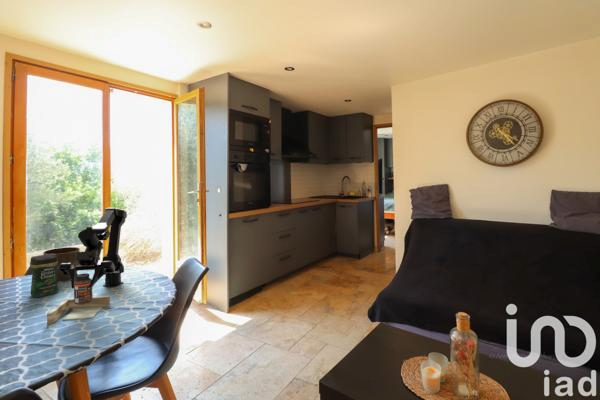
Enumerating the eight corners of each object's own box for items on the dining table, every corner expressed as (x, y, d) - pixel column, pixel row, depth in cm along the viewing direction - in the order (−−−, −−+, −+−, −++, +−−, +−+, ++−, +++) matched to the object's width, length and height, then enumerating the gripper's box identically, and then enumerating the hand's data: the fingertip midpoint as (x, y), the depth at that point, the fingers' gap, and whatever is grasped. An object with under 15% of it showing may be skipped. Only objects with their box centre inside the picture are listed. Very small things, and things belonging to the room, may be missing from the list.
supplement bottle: (77, 306, 112) (76, 278, 111) (72, 302, 115) (71, 275, 115) (95, 301, 117) (94, 274, 116) (89, 297, 120) (88, 271, 119)
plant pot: (85, 278, 156) (84, 249, 155) (50, 287, 143) (49, 255, 142) (73, 273, 164) (73, 246, 163) (39, 281, 151) (38, 251, 150)
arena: (66, 308, 120) (66, 299, 120) (110, 304, 125) (109, 295, 124) (47, 324, 107) (46, 313, 107) (96, 319, 111) (96, 309, 111)
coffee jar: (34, 299, 129) (32, 258, 127) (28, 295, 133) (26, 255, 132) (61, 292, 137) (59, 254, 135) (55, 289, 141) (53, 251, 140)
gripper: (59, 243, 116) (44, 280, 106) (112, 241, 121) (102, 276, 111) (69, 257, 124) (56, 292, 114) (118, 255, 129) (110, 288, 119)
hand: (81, 287), depth 114 cm, fingers closed on supplement bottle, 6 cm apart
